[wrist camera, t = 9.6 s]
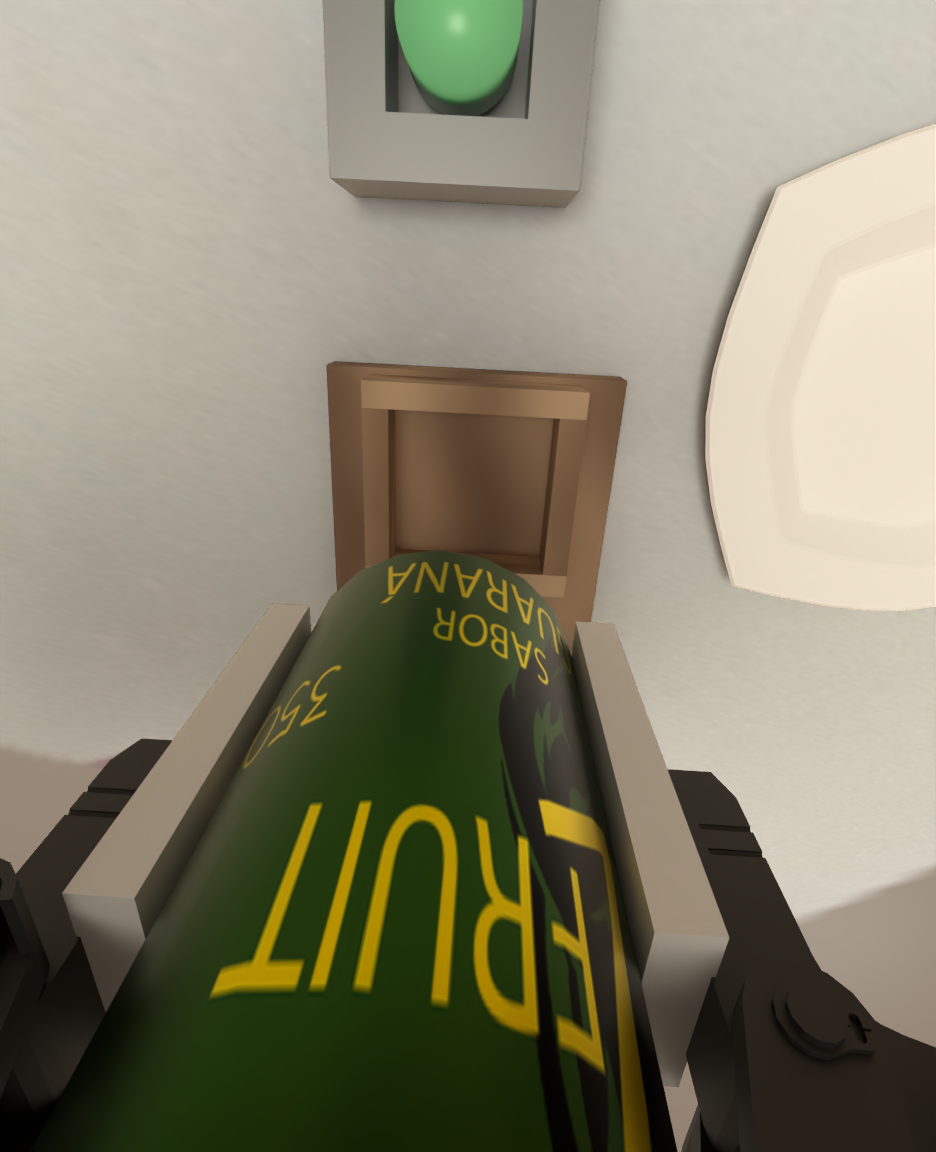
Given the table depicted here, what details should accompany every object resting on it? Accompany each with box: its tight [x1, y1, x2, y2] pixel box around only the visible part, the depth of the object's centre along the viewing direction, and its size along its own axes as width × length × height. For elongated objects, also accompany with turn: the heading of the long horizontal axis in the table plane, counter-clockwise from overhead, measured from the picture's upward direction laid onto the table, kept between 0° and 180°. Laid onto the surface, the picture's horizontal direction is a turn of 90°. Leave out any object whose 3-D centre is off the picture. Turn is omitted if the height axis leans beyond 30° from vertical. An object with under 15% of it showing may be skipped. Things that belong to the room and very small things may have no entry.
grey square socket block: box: [323, 0, 600, 207], centre depth 20 cm, size 8×8×4 cm
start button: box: [394, 0, 523, 116], centre depth 18 cm, size 4×4×3 cm
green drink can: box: [31, 550, 677, 1152], centre depth 8 cm, size 5×5×12 cm
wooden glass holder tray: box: [327, 361, 627, 653], centre depth 28 cm, size 12×21×4 cm, turn 177°
